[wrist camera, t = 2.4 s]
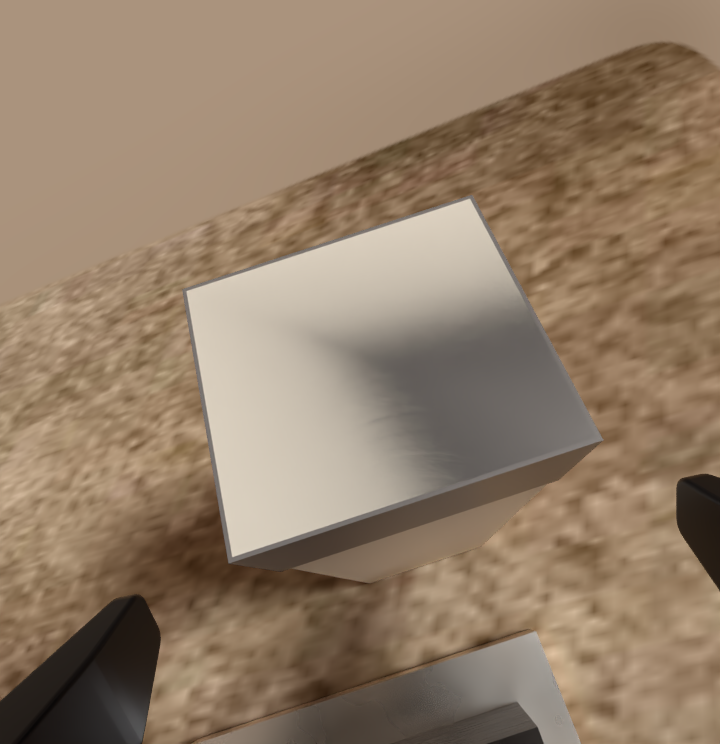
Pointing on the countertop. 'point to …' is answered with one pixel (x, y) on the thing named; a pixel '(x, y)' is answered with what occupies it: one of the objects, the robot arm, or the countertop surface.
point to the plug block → (379, 398)
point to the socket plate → (433, 705)
